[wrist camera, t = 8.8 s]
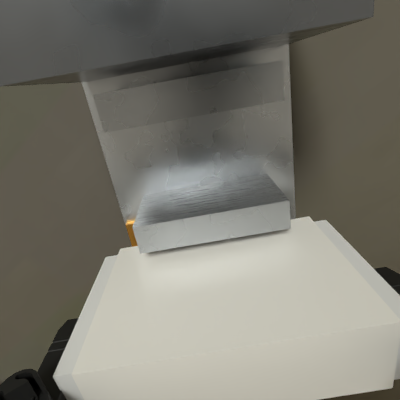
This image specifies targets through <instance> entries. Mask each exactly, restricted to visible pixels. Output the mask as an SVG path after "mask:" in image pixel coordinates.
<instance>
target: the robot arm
mask: <svg viewBox="0 0 400 400" xmlns="http://www.w3.org/2000/svg"><path fill="white" fill-rule="evenodd" d="M314 223H315V224H316V225H317V226H318V227H319V228H320V229H321V230H322V232H323V233H324V234H325V235H326V236H327V237H328V238H329V240H330V241H331V242H332V243H333V244H334V245H335V246H336V247H337V249H338V250H339V251H340V252H341V253H342V254H343V255H344V257H345V258H346V259H347V260H348V261H349V262H350V263H351V264H352V266H353V267H354V268H355V269H356V270H357V271H358V272H359V274H360V275H361V276H362V277H363V278H364V279H365V280H366V281H367V283H368V284H369V285H370V286H371V287H372V288H373V289H374V291H375V292H376V293H377V294H378V295H379V296H380V297H381V298H382V300H383V301H384V302H385V303H386V304H387V305H388V306H389V307H390V309H391V310H392V311H393V312H394V313H395V314H396V315H397V317H398V318H399V319H400V274H398V273H396V272H394V271H393V270H391V269H389V268H387V267H383V268H376V269H373V268H372V267H371V266H370V265H369V264H368V262H367V261H366V260H365V259H364V258H363V257H362V256H361V255H360V254H359V253H358V252H357V251H356V250H355V249H354V248H353V247H352V246H351V245H350V244H349V243H348V242H347V241H346V240H345V239H344V238H343V237H342V236H341V235H340V234H339V233H338V232H337V231H336V230H335V229H334V228H333V227H332V226H331V225H330V224H329V223H328V222H327V220H322V221H316V222H314ZM117 256H118V255H115V256H109V257H106V258H105V260H104V262H103V265H102V267H101V269H100V271H99V274H98V276H97V278H96V280H95V283H94V285H93V287H92V289H91V292H90V294H89V296H88V298H87V301H86V303H85V305H84V307H83V310H82V312H81V314H80V316H79V318H77V319H71V320H67V321H66V323H65V324H64V325H63V326H62V327H61V328H60V329H59V330H58V332H57V334H56V336H55V338H54V340H53V343H52V344H51V346H50V348H49V350H48V353H47V354H46V356H45V358H44V360H43V362H42V364H41V366H40V368H39V370H38V372H36V371H35V370H33V369H25V370H22V371H19V372H17V373H15V374H13V375H12V376H10V377H9V378H7V379H6V380H5V381H4V382H3V383H2V384H1V385H0V400H84V398H83V396H82V394H81V393H80V391H79V389H78V387H77V385H76V383H75V381H74V379H73V377H72V375H71V374H72V372H73V369H74V367H75V364H76V362H77V359H78V356H79V354H80V351H81V349H82V346H83V344H84V341H85V338H86V336H87V333H88V331H89V328H90V326H91V323H92V320H93V318H94V315H95V313H96V310H97V308H98V305H99V302H100V300H101V297H102V295H103V292H104V290H105V287H106V284H107V282H108V279H109V277H110V274H111V272H112V269H113V266H114V264H115V261H116V259H117ZM396 379H400V341H399V348H398V355H397V362H396V369H395V376H394V380H396Z"/></svg>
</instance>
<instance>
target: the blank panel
mask: <svg viewBox="0 0 400 400" xmlns="http://www.w3.org/2000/svg"><path fill="white" fill-rule="evenodd" d="M290 221H291V228H290V229H284V230H278V231H272V232H266V233H260V234H254V235H248V236H242V237H237V238H231V239H225V240H219V241H213V242H207V243H201V244H195V245H189V246H183V247H177V248H171V249H166V250H160V251H154V252H148V253H142V254H140V252H139V248H138V246H134V247H128V248H122V249H120V251H119V253H118V256H117V259H116V261H115V264H114V266H113V269H112V272H111V274H110V277H109V279H108V282H107V284H106V287H105V290H104V292H103V295H102V297H101V300H100V302H99V305H98V308H97V310H96V313H95V315H94V318H93V320H92V323H91V326H90V328H89V331H88V333H87V336H86V338H85V341H84V344H83V346H82V349H81V351H80V354H79V356H78V359H77V362H76V364H75V367H74V369H73V372H72V374H71V375H72V377H73V379H74V381H75V383H76V385H77V387H78V389H79V391H80V393H81V394H82V396H83V398H84V400H319V399H325V398H332V397H338V396H345V395H351V394H358V393H364V392H371V391H377V390H384V389H390V388H393V383H394V376H395V369H396V362H397V355H398V348H399V341H400V319H399V318H398V317H397V315H396V314H395V313H394V312H393V311H392V310H391V309H390V307H389V306H388V305H387V304H386V303H385V302H384V301H383V300H382V298H381V297H380V296H379V295H378V294H377V293H376V292H375V291H374V289H373V288H372V287H371V286H370V285H369V284H368V283H367V281H366V280H365V279H364V278H363V277H362V276H361V275H360V274H359V272H358V271H357V270H356V269H355V268H354V267H353V266H352V264H351V263H350V262H349V261H348V260H347V259H346V258H345V257H344V255H343V254H342V253H341V252H340V251H339V250H338V249H337V247H336V246H335V245H334V244H333V243H332V242H331V241H330V240H329V238H328V237H327V236H326V235H325V234H324V233H323V232H322V230H321V229H320V228H319V227H318V226H317V225H316V224H315V223H314V221H313V220H312V219H311V218H310V217H303V218H297V219H291V220H290Z"/></svg>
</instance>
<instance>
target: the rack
mask: <svg viewBox="0 0 400 400" xmlns="http://www.w3.org/2000/svg"><path fill="white" fill-rule="evenodd" d="M373 14H374V0H0V86H17V85H37V84H56V83H76V82H82V85H83V88H84V91H85V95H86V98H87V101H88V104H89V108H90V111H91V114H92V117H93V121H94V124H95V127H96V130H97V134H98V137H99V140H100V143H101V147H102V150H103V153H104V156H105V160H106V163H107V166H108V169H109V173H110V176H111V179H112V182H113V186H114V189H115V192H116V195H117V199H118V202H119V205H120V208H121V212H122V215H123V218H124V221H125V225H126V228H127V231H128V234H129V238H130V241H131V244H132V247H134V246H138V248H139V252H140V254H142V253H148V252H154V251H160V250H166V249H171V248H177V247H183V246H189V245H195V244H201V243H207V242H213V241H219V240H225V239H231V238H237V237H242V236H248V235H254V234H260V233H266V232H272V231H278V230H284V229H290V228H291V221H290V220H291V219H296V213H295V188H294V163H293V138H292V113H291V88H290V63H289V44H290V43H293V42H296V41H299V40H302V39H306V38H309V37H312V36H315V35H318V34H321V33H324V32H327V31H331V30H334V29H337V28H340V27H343V26H346V25H349V24H352V23H356V22H359V21H362V20H365V19H368V18H371V17H373Z"/></svg>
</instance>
